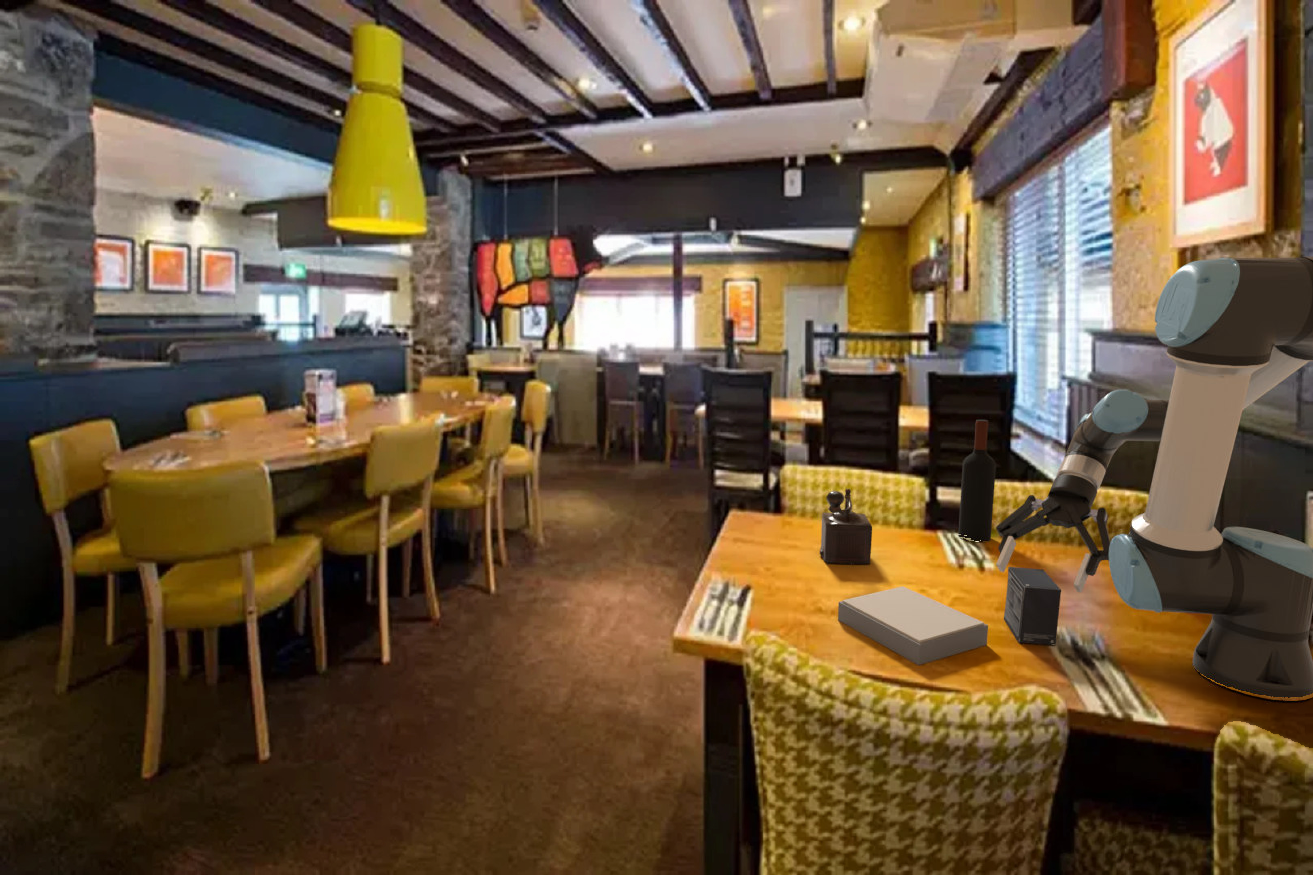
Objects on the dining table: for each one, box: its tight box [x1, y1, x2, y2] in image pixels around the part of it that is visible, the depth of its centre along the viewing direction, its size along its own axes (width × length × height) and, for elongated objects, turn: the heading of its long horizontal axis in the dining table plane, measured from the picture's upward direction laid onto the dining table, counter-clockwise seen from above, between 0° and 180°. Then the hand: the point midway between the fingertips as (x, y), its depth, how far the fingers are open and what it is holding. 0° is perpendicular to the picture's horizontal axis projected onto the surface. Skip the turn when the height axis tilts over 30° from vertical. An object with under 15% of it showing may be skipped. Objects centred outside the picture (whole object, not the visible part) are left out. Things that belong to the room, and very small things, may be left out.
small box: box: [1003, 566, 1062, 646], centre depth 131 cm, size 11×6×10 cm, turn 168°
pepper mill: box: [819, 488, 873, 566], centre depth 169 cm, size 16×11×18 cm
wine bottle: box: [957, 419, 997, 543], centre depth 183 cm, size 8×8×30 cm
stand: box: [837, 585, 989, 666], centre depth 132 cm, size 20×16×4 cm
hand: (1037, 578), depth 134 cm, fingers open, 13 cm apart
